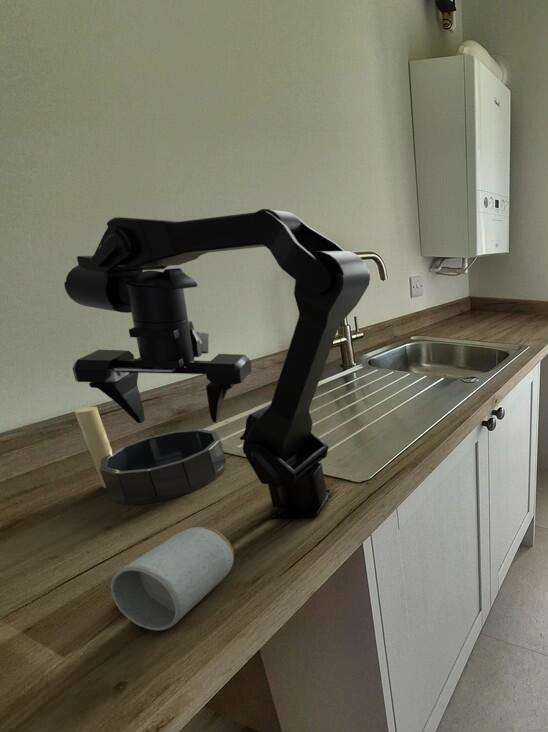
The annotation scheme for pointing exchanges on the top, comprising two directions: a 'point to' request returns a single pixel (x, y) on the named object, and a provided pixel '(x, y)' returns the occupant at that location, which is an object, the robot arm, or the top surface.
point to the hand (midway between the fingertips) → (179, 421)
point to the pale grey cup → (172, 577)
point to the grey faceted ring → (152, 462)
